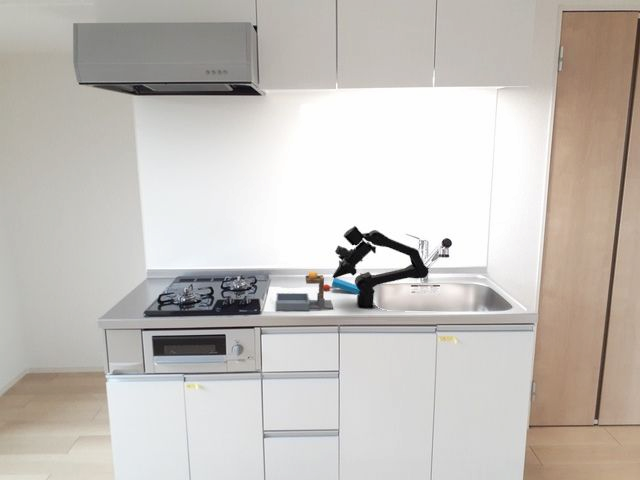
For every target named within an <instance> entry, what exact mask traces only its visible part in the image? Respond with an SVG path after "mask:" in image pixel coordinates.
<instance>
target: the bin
mask: <svg viewBox="0 0 640 480" xmlns="http://www.w3.org/2000/svg"><path fill="white" fill-rule="evenodd" d="M275 300H276V304H275V305H276V307H275V308H276V309H275V310H276V312H310V306H309V300H310V298H309V293H307V292H306V293H305V292H304V293H303V292H302V293H300V292H299V293H291V292H290V293H289V292H288V293H285V292H284V293H281V292H280V293H279V292H278V293H276V299H275Z"/></svg>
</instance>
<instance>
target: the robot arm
mask: <svg viewBox="0 0 640 480" xmlns="http://www.w3.org/2000/svg"><path fill="white" fill-rule="evenodd" d="M343 237H344V239H345V240H346V241H347V242H348V243H349V244H350V245H351V246H355V247H354V248H351V249H348V248H346V247H344V246H343V247H342V246H341V245H337V247H336V249H335V251H334V252H335V254H336V255H338V256H337V257H338V258H339V260H338V267H337V269H336V270H335V271H334V272H333V275H332V278H333V279H334V278H337V279H338V278H339V277H343V276H345V275H348V274H351V276H355V275H356V274H357V269H356V267H357V265H358V264H359V263H360V262H361V263H362V262H363V261H364V260H363V259H364V258H365V257H366V256H368V254H369V253H370V252H372V253H373V254H377V253H376V250H377V247H378V246H379V247H383V248H389V249H391V250H393V251H396V252H399V253H400V254H401V253H402V254H404V255H406V256H408V257H409V259H410V262H411V264H409V265H408V266H406V267H404V268H400V269H397V270H392V271H386V272H383V273H378V274H371V272H370V271H367V272H364V273H361V272H360V273H359V275H357V276H356V277H355V279H354V283H355V285H356V286H357V288H358V289H359V290H360V291H359V295H358V294H356V295H357V296H356V305H357V306H358V308H360V309H374V308H375V306H374V295H375V290H374V288H375V287H376V286H378V285H383V284H386V283H391V282H396V281H399V280H404V279H425V278H426V277H427V276H428V274H429V268H428V267H427V266H426V265H425V263H424V261H423V259H422V257H421V254H420V252H419V250H418V249H417V248H415V247H411V246H409V245H406V244H404V243H402V242H399V241H397V240H395V239H392V238H389V237H388V236H386V235H385V234H383V233H382V232H380V231H379V230H376V229H373V230H371V231H369V232H365V233H362V232H361V231H360V230H359V228H358V227H357V226H356V225H354V226H353V227H351V228H349V229H348V230H347V231H346V232H344V234H343ZM376 246H377V247H376Z"/></svg>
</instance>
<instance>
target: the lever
mask: <svg viewBox="0 0 640 480" xmlns="http://www.w3.org/2000/svg"><path fill="white" fill-rule="evenodd" d="M332 289H340V290H344V291H346V292H349V293H352V294H355V295H359V291H360V290H359V289H358V288H357V286H356V284H354V283H351V282H348V281H346V280H342V279H340V278H338V277H337V278H333V279H332V283H331V285H329V284H327V283H325V284H324V291H325V292H329V291H330V290H332Z"/></svg>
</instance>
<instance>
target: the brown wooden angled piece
mask: <svg viewBox="0 0 640 480" xmlns="http://www.w3.org/2000/svg"><path fill="white" fill-rule="evenodd" d="M308 275H309V274H307V275H305V282H306V285H307V284H310V285H311V284H312V285H313V284H314V285H315V284H317V285H318V293H319V298H324V295H325V294H324V285H325V278H324V274H319V275H318V277H317V279H309V276H308ZM324 299H325V298H324Z"/></svg>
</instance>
